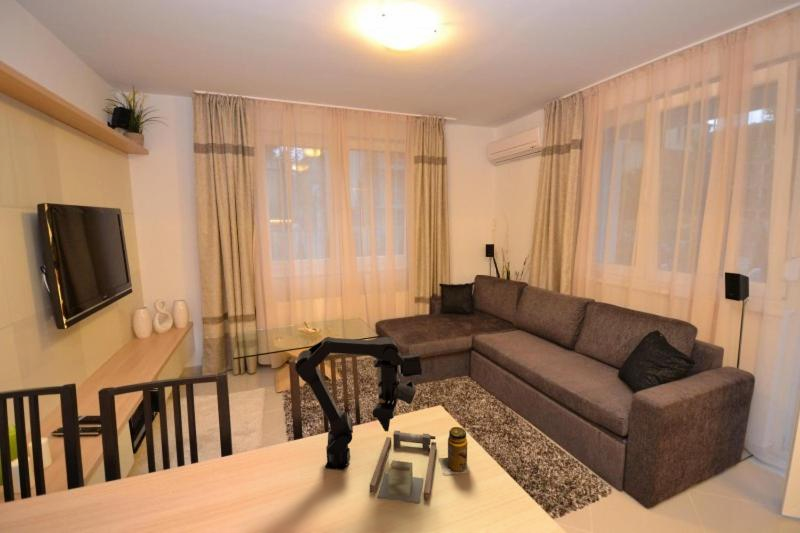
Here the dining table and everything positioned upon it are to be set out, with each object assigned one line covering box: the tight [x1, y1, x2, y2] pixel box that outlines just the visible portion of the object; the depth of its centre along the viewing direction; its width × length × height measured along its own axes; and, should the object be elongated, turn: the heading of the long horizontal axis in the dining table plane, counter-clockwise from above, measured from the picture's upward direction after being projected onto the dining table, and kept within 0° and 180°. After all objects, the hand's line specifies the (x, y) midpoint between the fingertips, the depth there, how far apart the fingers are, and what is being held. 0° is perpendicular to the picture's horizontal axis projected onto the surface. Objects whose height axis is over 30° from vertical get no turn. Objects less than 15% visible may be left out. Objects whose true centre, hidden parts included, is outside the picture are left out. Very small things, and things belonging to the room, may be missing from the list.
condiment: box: [438, 426, 472, 476], centre depth 112 cm, size 7×8×12 cm
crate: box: [387, 459, 414, 496], centre depth 104 cm, size 6×6×6 cm
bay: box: [369, 430, 437, 501], centre depth 113 cm, size 17×24×5 cm
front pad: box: [376, 472, 424, 504], centre depth 104 cm, size 12×9×1 cm
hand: (389, 422), depth 116 cm, fingers open, 9 cm apart
